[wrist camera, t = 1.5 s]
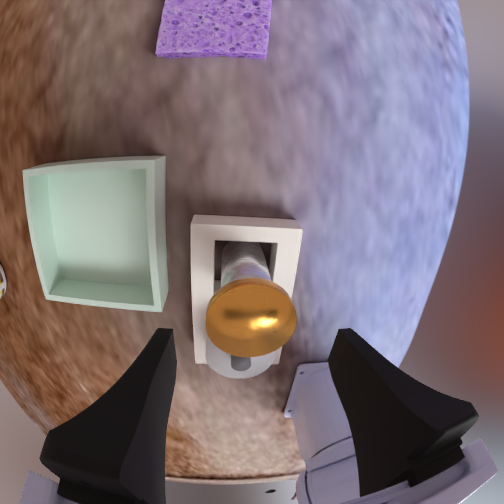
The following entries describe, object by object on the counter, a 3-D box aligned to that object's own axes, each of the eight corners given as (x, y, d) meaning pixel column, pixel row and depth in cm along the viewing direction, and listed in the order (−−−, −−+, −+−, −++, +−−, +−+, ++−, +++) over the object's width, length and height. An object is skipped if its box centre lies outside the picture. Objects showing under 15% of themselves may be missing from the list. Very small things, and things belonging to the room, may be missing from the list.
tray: (169, 289, 21) (161, 312, 18) (62, 280, 20) (46, 299, 17) (166, 155, 17) (154, 159, 14) (45, 163, 16) (22, 170, 13)
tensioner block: (275, 348, 24) (283, 389, 20) (196, 347, 23) (193, 388, 19) (295, 219, 19) (315, 246, 15) (194, 214, 19) (184, 240, 14)
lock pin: (269, 284, 21) (289, 356, 14) (211, 282, 21) (206, 356, 14) (276, 229, 20) (304, 287, 12) (212, 226, 19) (204, 284, 12)
